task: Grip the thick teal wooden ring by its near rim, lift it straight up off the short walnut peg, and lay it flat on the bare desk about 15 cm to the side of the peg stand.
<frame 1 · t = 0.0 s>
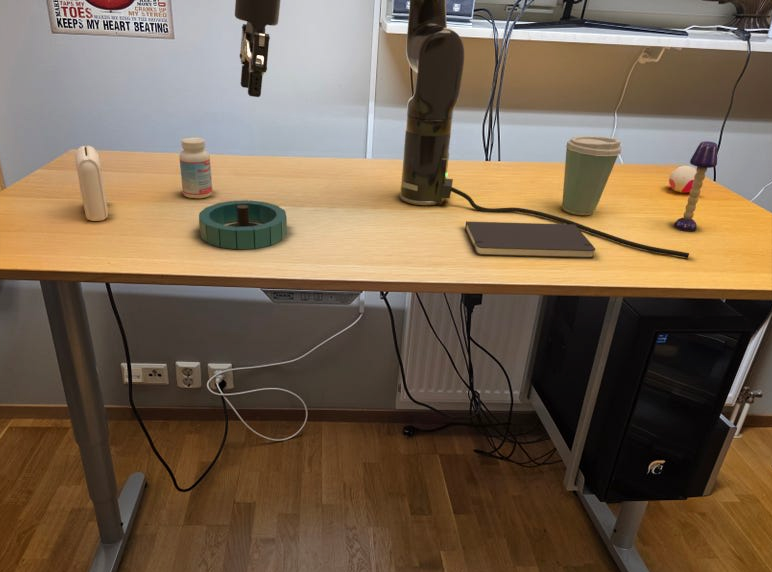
hand: (250, 91, 119), 22 cm above the table, tool pointing down, fingers open, 8 cm apart
notebook: (527, 244, 122), on the table
photo printer: (97, 213, 127), on the table
ring: (243, 232, 121), on the table
pill bottle: (198, 195, 138), on the table
disposable coffee cup: (578, 211, 138), on the table
peg stand: (243, 232, 121), on the table
stress ball: (682, 193, 152), on the table
toy lamp: (682, 228, 132), on the table
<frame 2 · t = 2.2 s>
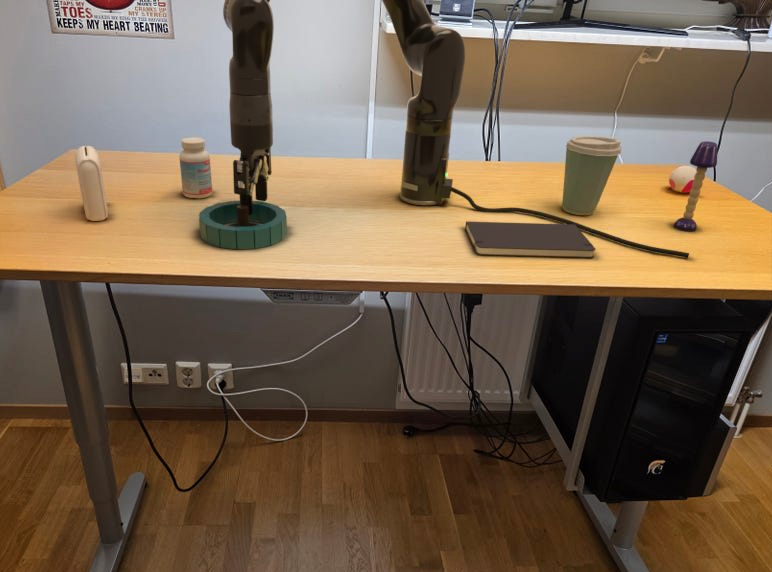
hand: (254, 207, 125), 3 cm above the table, tool pointing down, fingers open, 8 cm apart
nothing on the table moved.
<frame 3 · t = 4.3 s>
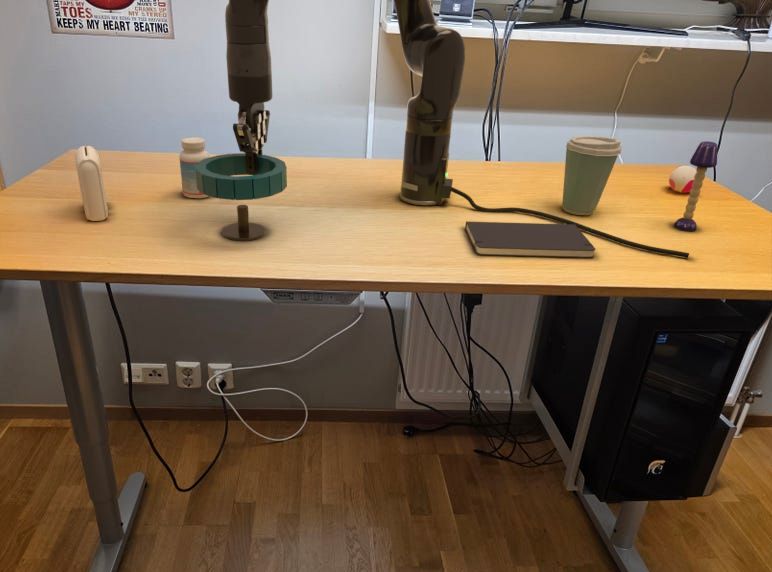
hand: (254, 170, 122), 9 cm above the table, tool pointing down, fingers closed on ring
ring: (242, 185, 116), point 9 cm above the table, touching gripper
everything else where it was.
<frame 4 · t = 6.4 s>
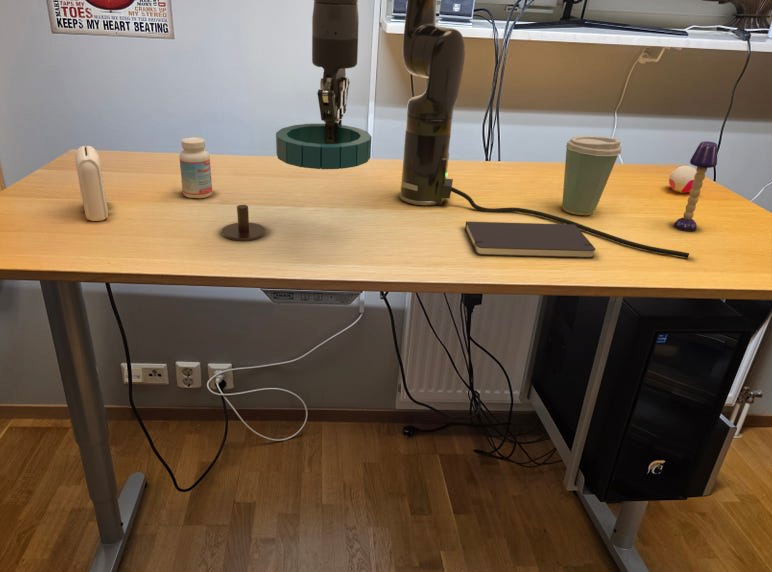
hand: (333, 142, 116), 16 cm above the table, tool pointing down, fingers closed on ring
ring: (323, 155, 110), point 15 cm above the table, touching gripper
everything else where it was.
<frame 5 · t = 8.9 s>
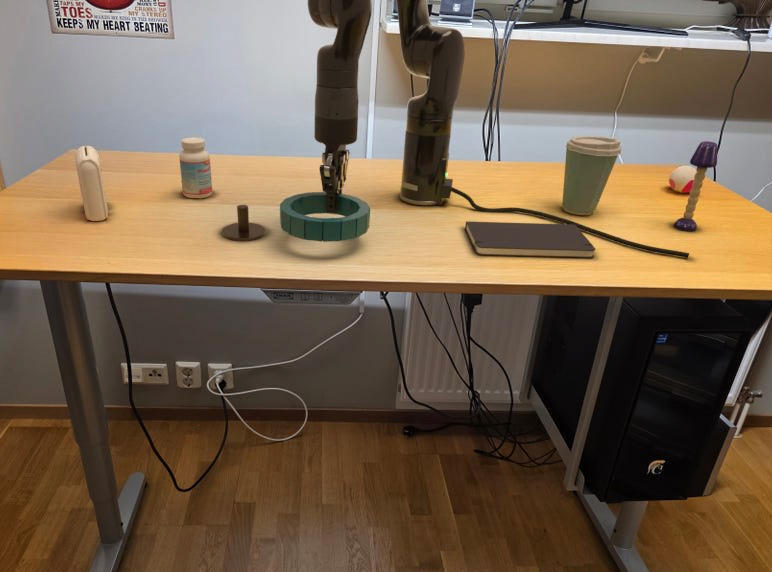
hand: (333, 209, 122), 4 cm above the table, tool pointing down, fingers closed on ring
ring: (324, 225, 116), point 3 cm above the table, touching gripper
everything else where it was.
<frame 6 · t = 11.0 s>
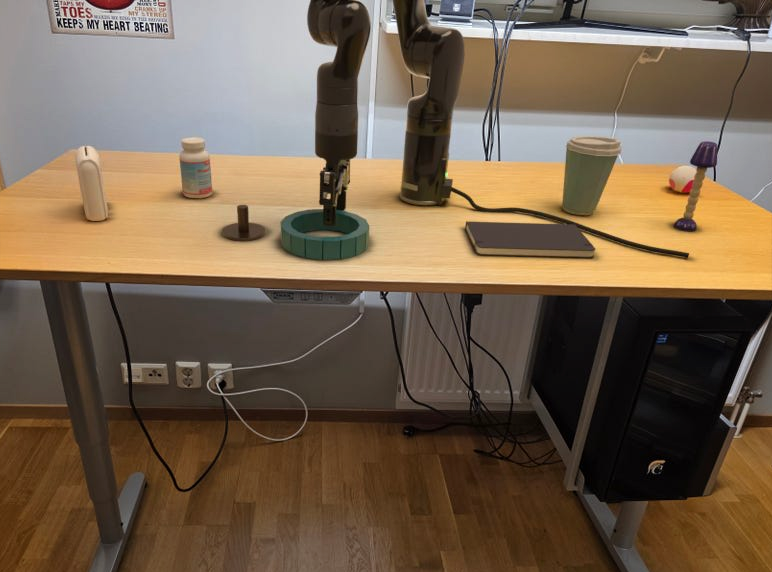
hand: (334, 217, 123), 2 cm above the table, tool pointing down, fingers open, 8 cm apart
ring: (324, 242, 118), on the table
everything else where it was.
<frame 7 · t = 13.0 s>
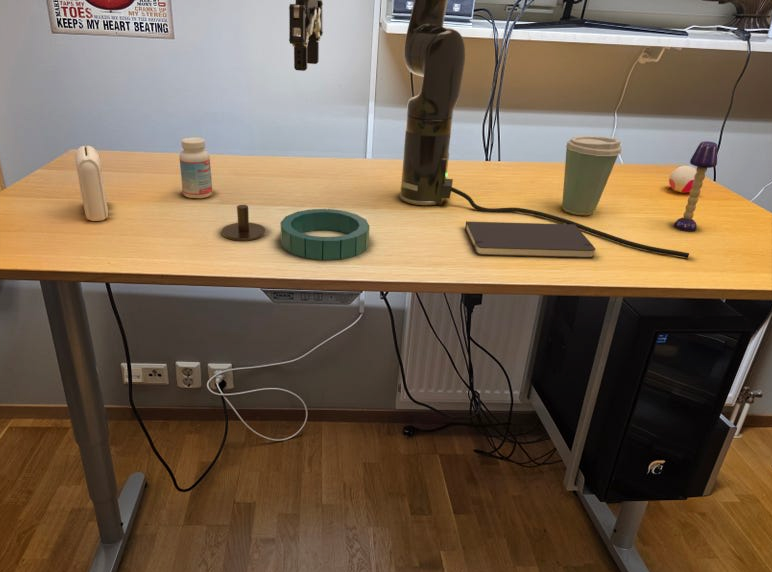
hand: (306, 66, 119), 27 cm above the table, tool pointing down, fingers open, 8 cm apart
nothing on the table moved.
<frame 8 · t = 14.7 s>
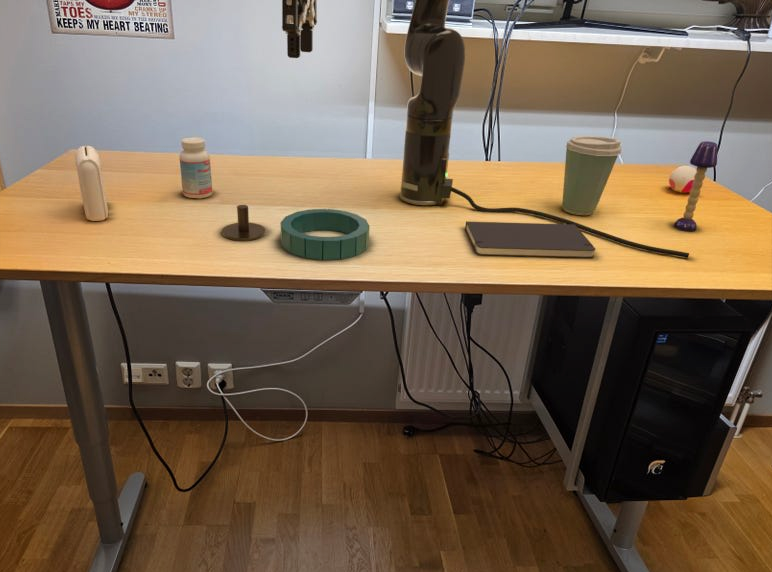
hand: (300, 54, 121), 28 cm above the table, tool pointing down, fingers open, 8 cm apart
nothing on the table moved.
at the end: ring inside the target area (0.1 cm from its centre), on the table; ring tilted 0°; the gripper is holding nothing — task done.
